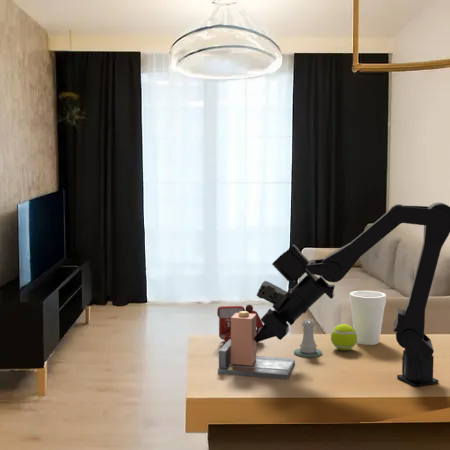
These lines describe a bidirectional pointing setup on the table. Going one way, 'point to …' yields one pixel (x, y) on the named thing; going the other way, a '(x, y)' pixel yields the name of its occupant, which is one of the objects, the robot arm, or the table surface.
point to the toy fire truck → (225, 319)
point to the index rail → (255, 365)
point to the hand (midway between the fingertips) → (255, 340)
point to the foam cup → (367, 315)
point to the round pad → (299, 353)
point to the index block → (243, 338)
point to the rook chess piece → (308, 338)
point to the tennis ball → (344, 337)
